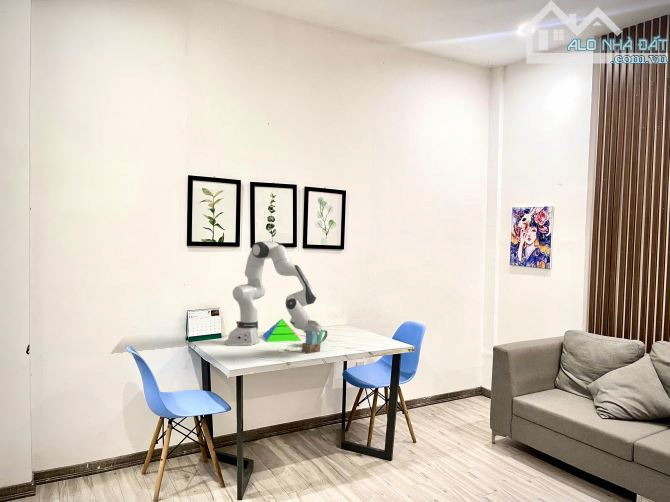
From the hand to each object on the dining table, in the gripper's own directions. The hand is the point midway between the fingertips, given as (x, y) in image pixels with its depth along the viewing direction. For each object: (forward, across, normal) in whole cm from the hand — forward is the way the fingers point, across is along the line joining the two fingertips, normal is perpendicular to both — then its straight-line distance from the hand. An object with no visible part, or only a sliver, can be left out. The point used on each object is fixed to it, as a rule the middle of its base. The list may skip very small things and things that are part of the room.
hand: (312, 332), depth 296 cm
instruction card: (+1, +13, +15) cm, 20 cm away
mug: (+19, +6, -2) cm, 20 cm away
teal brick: (+4, 0, +5) cm, 7 cm away
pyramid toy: (+20, +39, -3) cm, 44 cm away
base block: (+8, 0, +9) cm, 12 cm away
